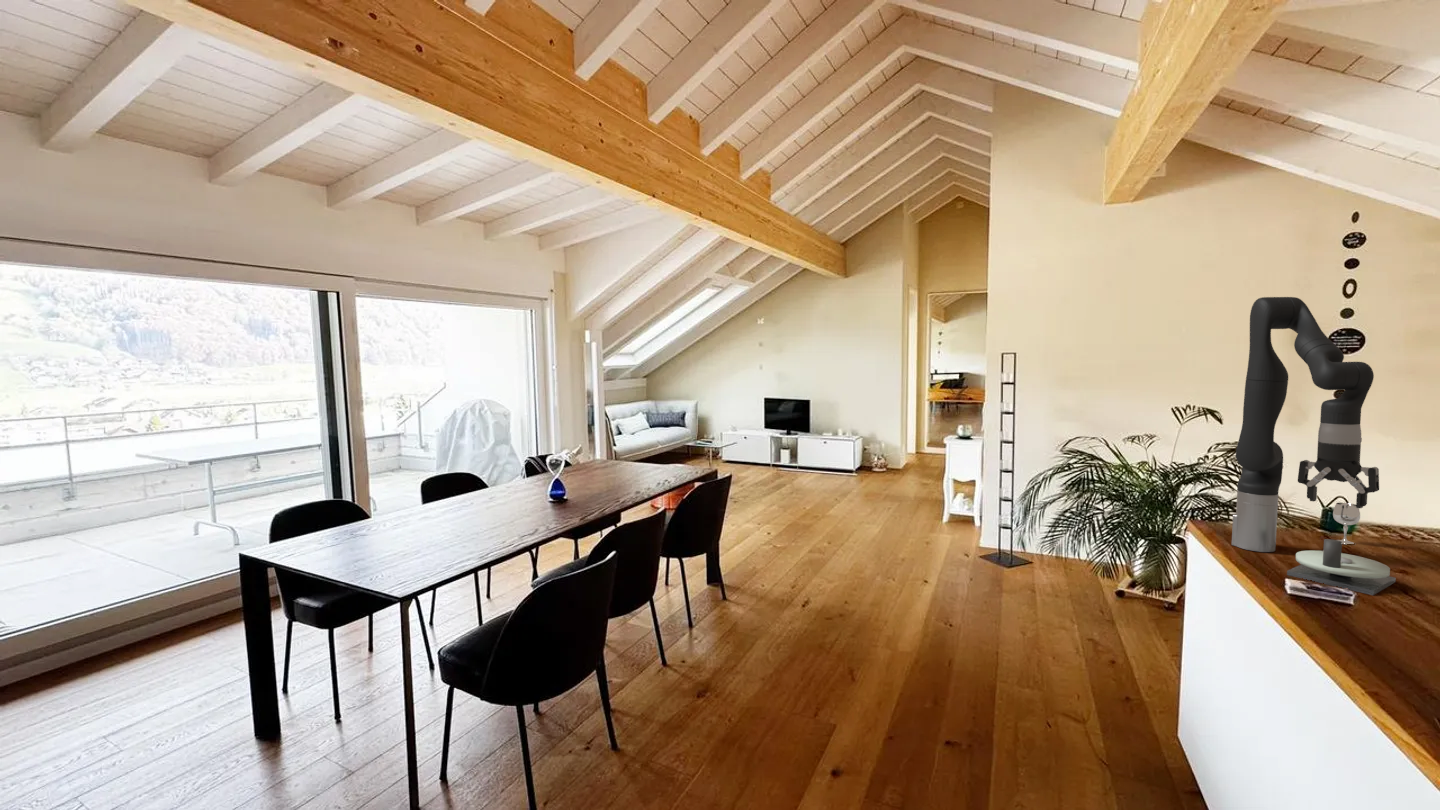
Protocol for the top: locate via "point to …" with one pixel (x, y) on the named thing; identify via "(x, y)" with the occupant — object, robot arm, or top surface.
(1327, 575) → the wheel stand
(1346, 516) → the wineglass
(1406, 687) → the top surface
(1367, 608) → the top surface
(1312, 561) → the handwheel
